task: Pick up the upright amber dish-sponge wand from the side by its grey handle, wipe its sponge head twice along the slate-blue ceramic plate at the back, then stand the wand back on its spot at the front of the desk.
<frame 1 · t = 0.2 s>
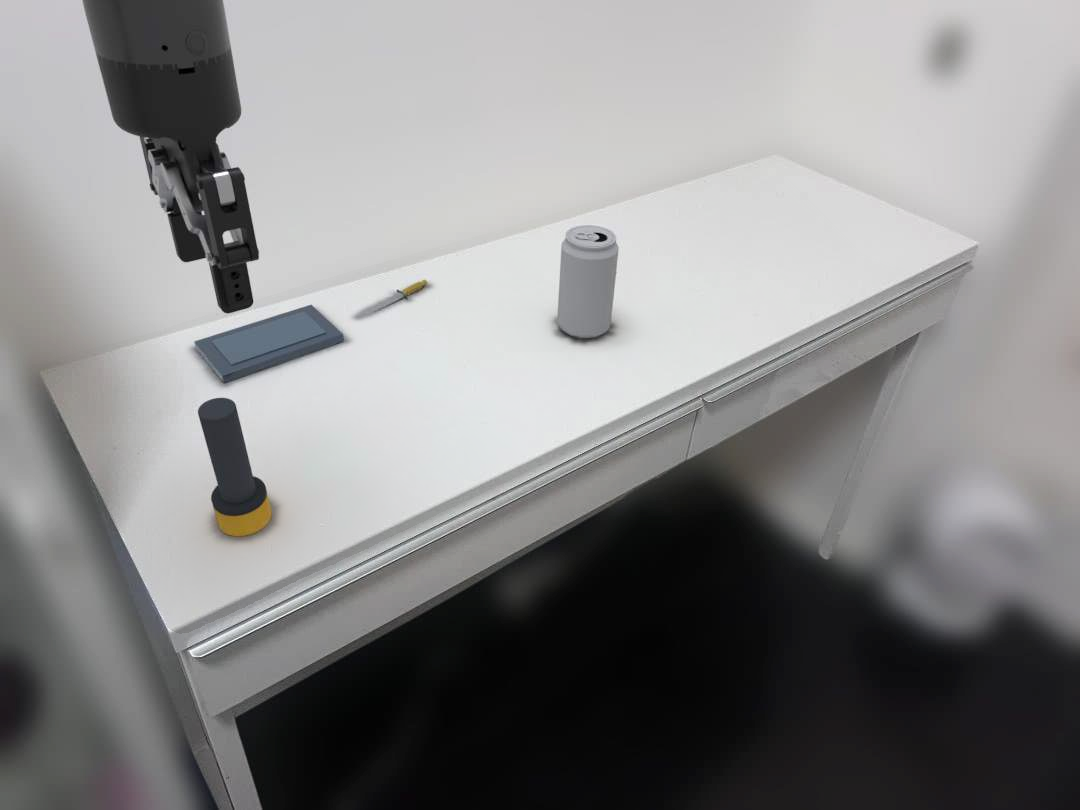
hand: (215, 282, 58), 22 cm above the table, tool pointing down, fingers open, 8 cm apart
sponge wand: (245, 517, 70), on the table
dagger: (394, 302, 100), on the table
beverage can: (583, 328, 96), on the table
plate: (271, 345, 91), on the table
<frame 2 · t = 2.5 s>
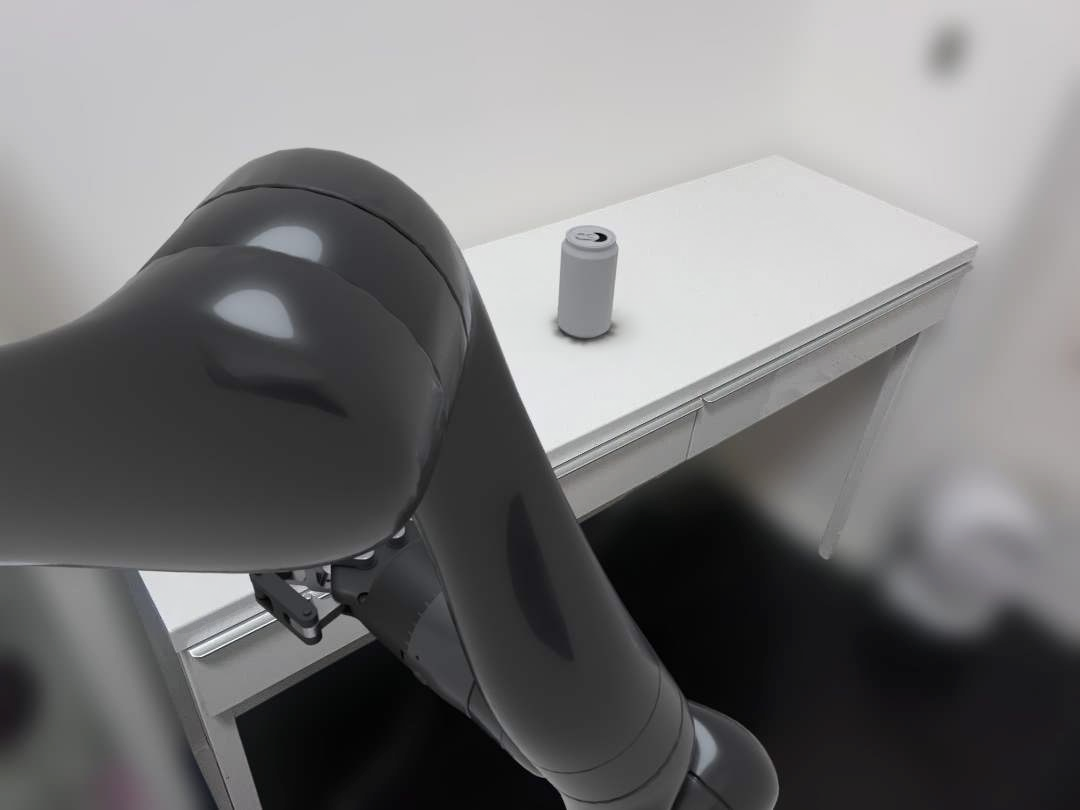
hand: (303, 495, 58), 10 cm above the table, tool horizontal, fingers open, 8 cm apart
nothing on the table moved.
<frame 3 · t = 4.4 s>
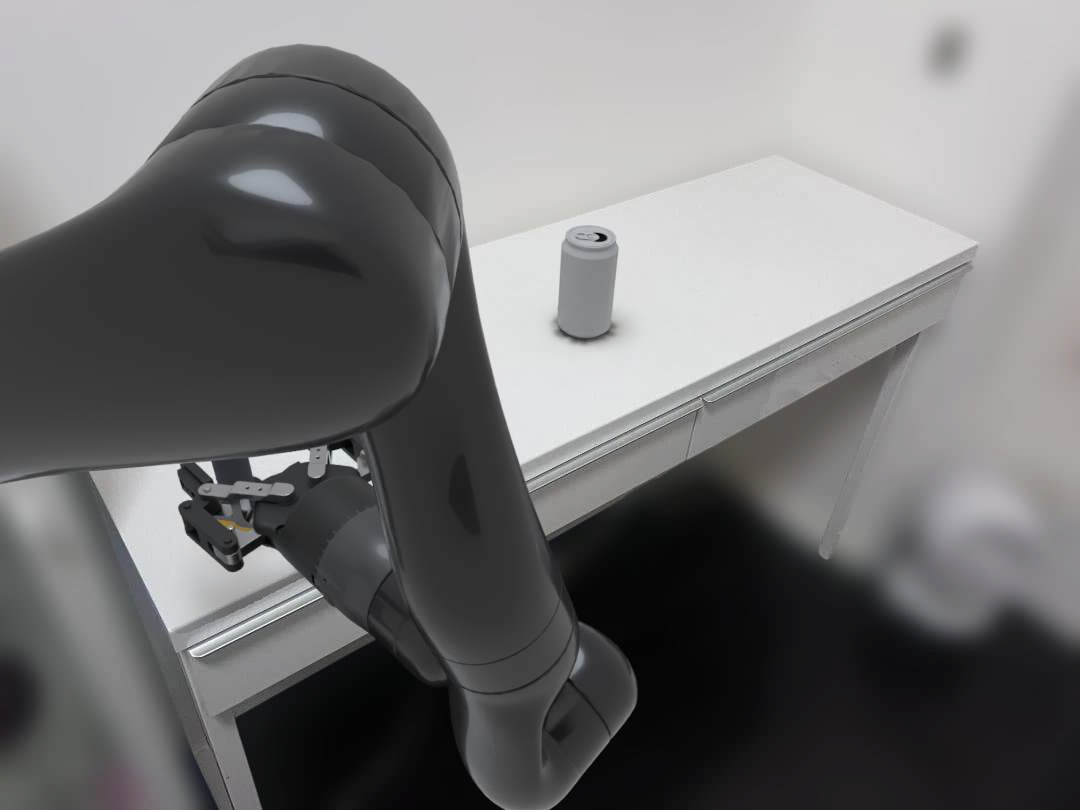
hand: (237, 442, 62), 10 cm above the table, tool horizontal, fingers open, 8 cm apart
nothing on the table moved.
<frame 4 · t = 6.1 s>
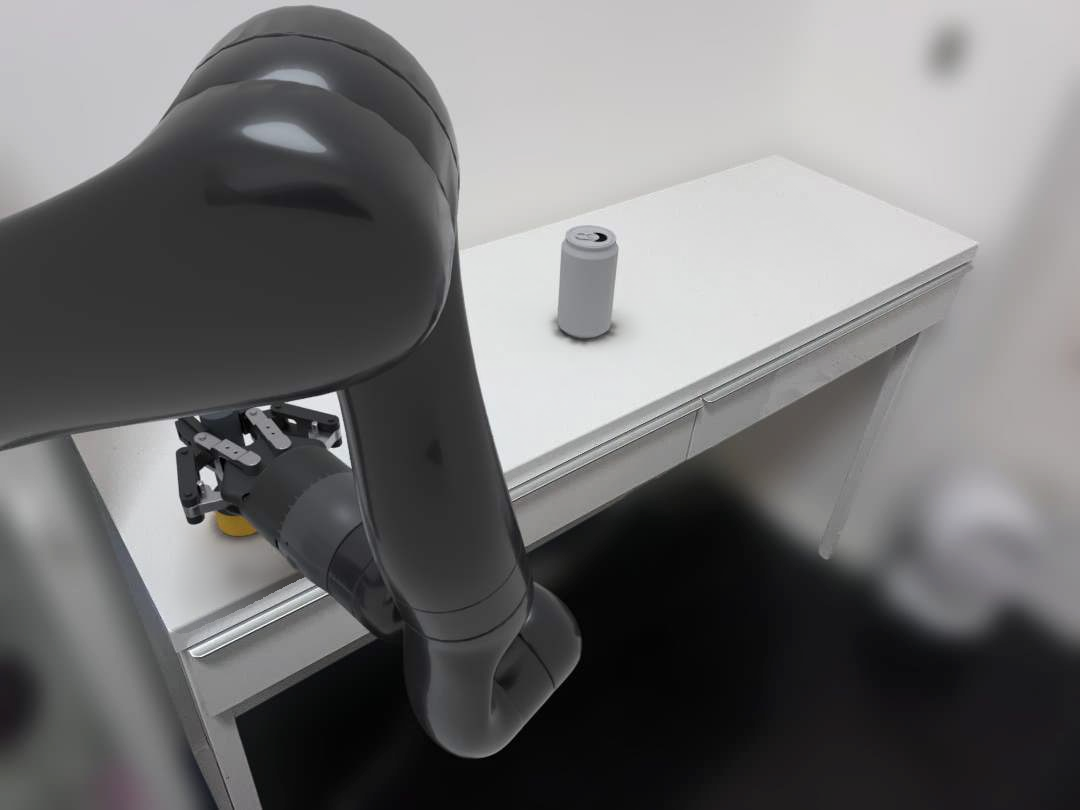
hand: (202, 412, 65), 10 cm above the table, tool horizontal, fingers closed on sponge wand, 2 cm apart
sponge wand: (245, 517, 70), on the table, touching gripper
everything else where it was.
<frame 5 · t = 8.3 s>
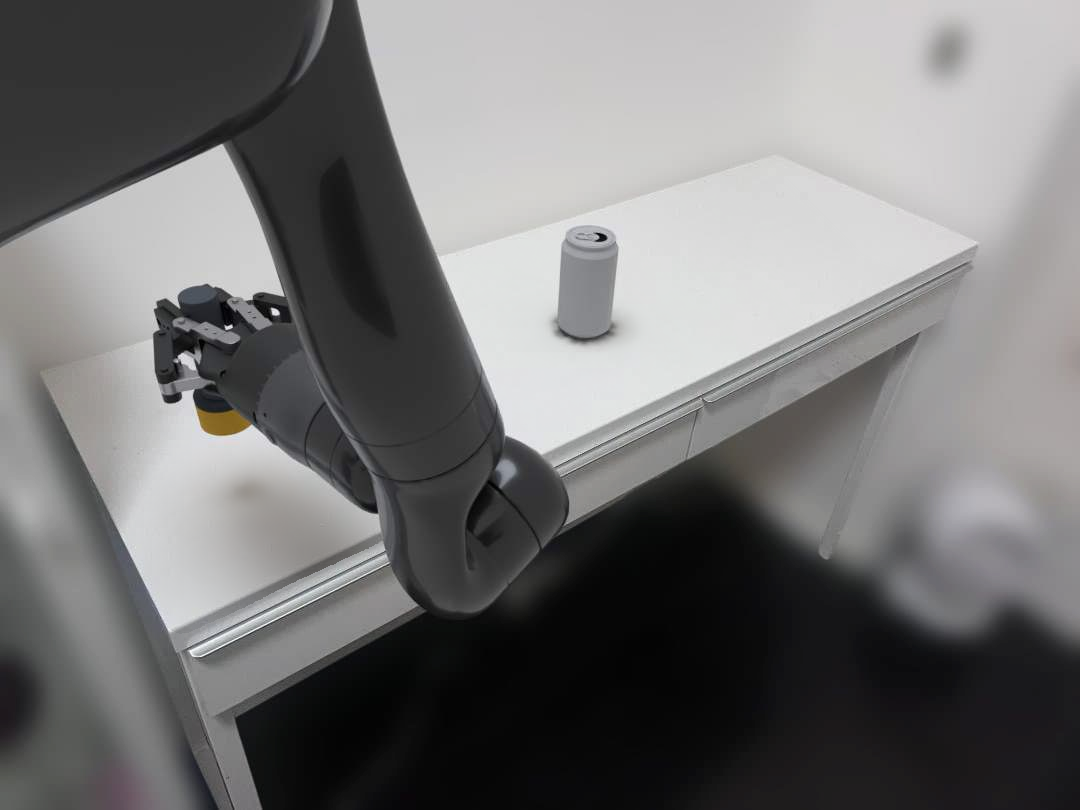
hand: (183, 303, 63), 18 cm above the table, tool horizontal, fingers closed on sponge wand, 2 cm apart
sponge wand: (228, 419, 68), point 8 cm above the table, touching gripper
everything else where it was.
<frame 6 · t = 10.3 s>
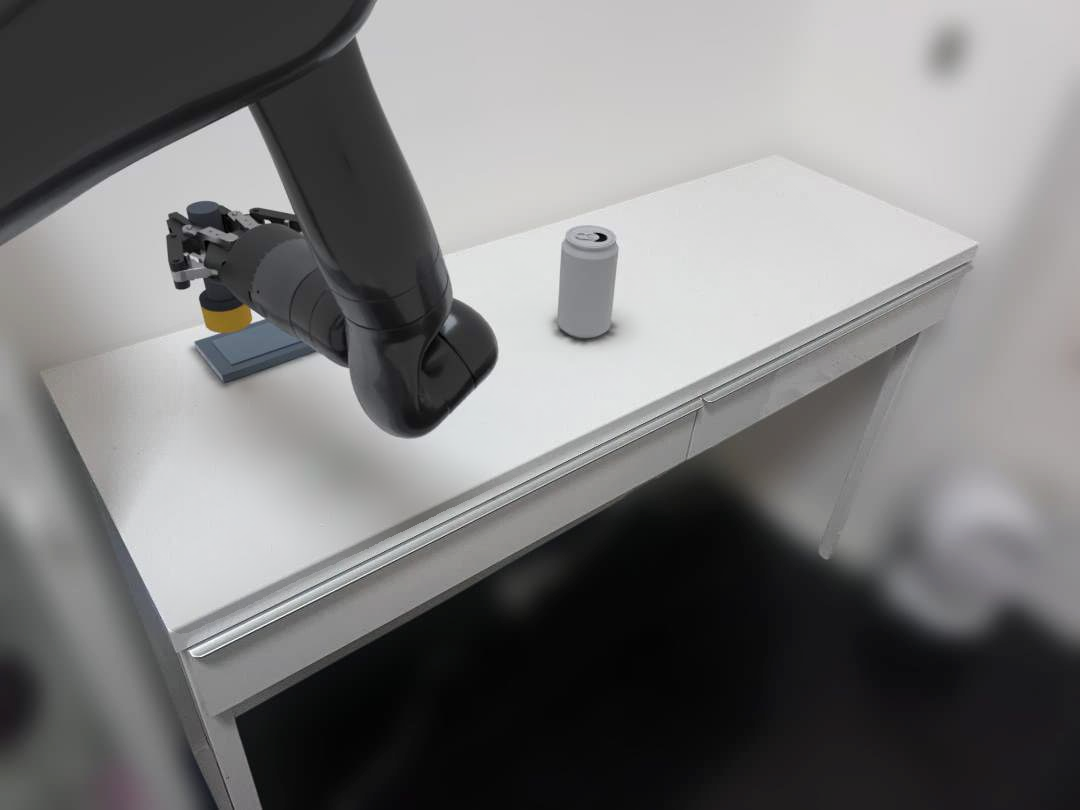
hand: (191, 217, 75), 18 cm above the table, tool horizontal, fingers closed on sponge wand, 3 cm apart
sponge wand: (229, 321, 80), point 8 cm above the table, touching gripper
everything else where it was.
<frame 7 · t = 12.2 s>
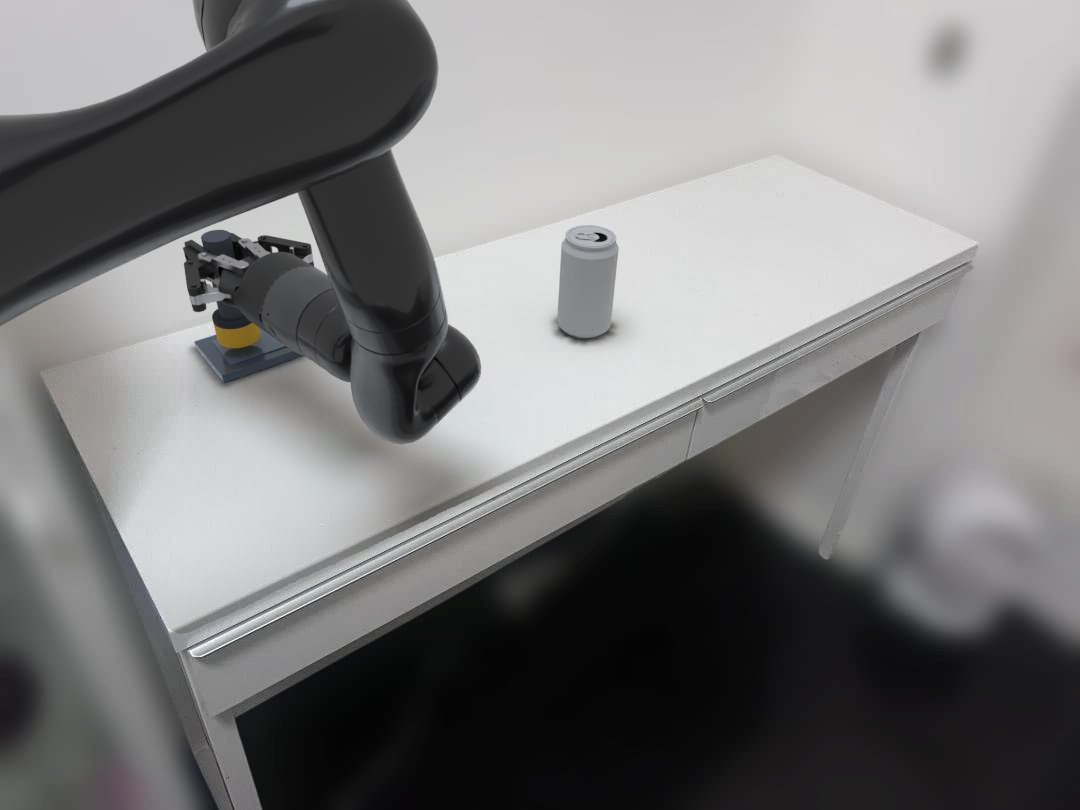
hand: (205, 244, 83), 12 cm above the table, tool horizontal, fingers closed on sponge wand, 3 cm apart
sponge wand: (239, 337, 87), point 2 cm above the table, touching gripper
everything else where it was.
when the fingers open (10 cm above the table, at t = 22.0 s): sponge wand stays where it is, on the table.
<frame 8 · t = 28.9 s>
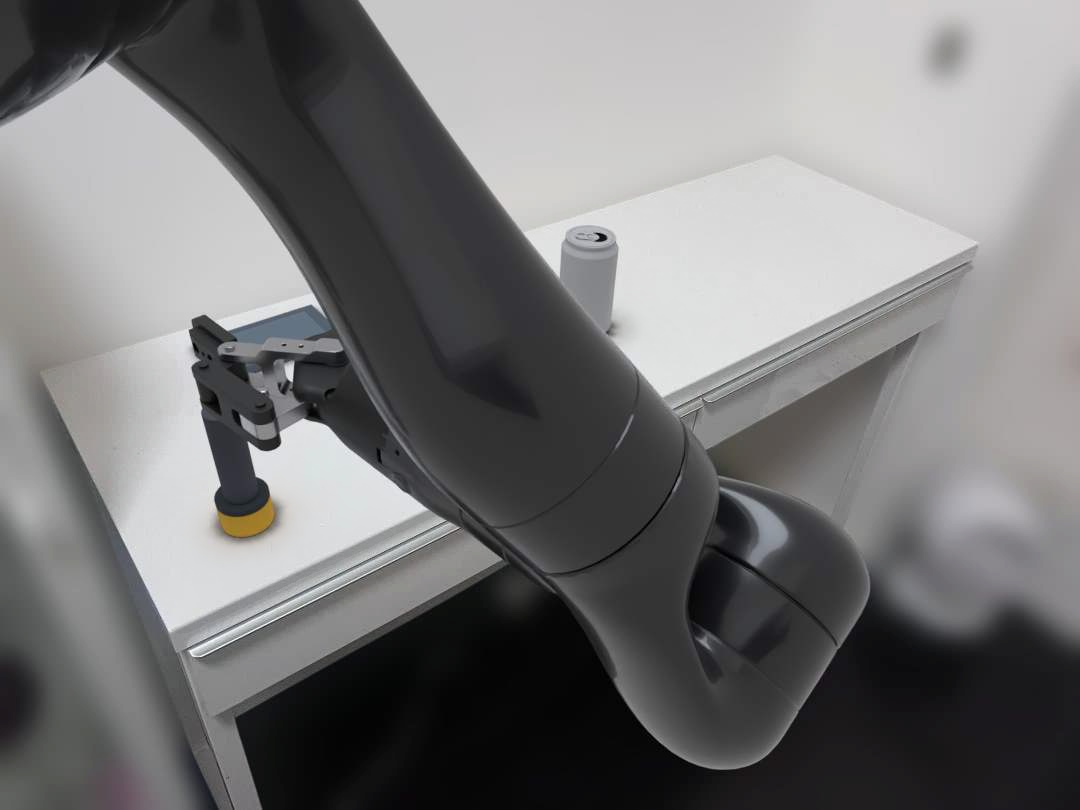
hand: (266, 304, 48), 26 cm above the table, tool horizontal, fingers open, 8 cm apart
sponge wand: (248, 518, 70), on the table
everything else where it was.
at the end: sponge wand 0.3 cm from the target spot, on the table; sponge wand tilted 0°; plate moved 0.0 cm from its start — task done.
